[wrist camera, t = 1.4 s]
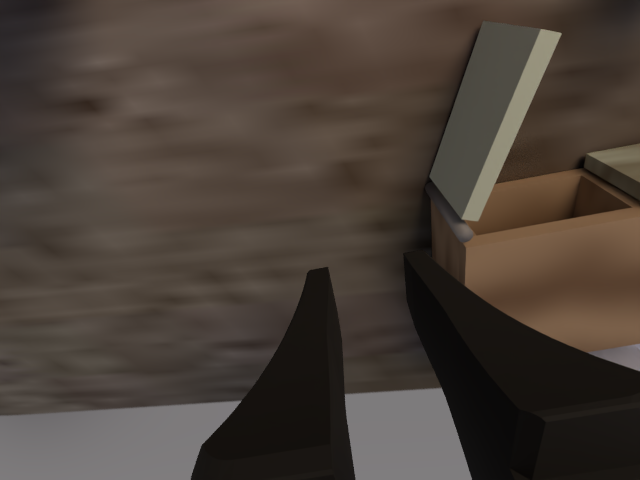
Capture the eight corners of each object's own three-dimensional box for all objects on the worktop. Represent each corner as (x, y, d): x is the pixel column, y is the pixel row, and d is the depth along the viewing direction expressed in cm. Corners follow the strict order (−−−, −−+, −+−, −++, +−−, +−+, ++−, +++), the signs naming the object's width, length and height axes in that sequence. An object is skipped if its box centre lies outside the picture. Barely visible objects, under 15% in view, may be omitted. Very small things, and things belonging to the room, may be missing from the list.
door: (497, 23, 18) (565, 33, 13) (435, 194, 22) (470, 243, 18) (481, 20, 18) (544, 29, 13) (422, 192, 22) (454, 241, 18)
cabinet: (651, 271, 27) (725, 329, 22) (433, 309, 27) (461, 373, 23) (703, 129, 21) (815, 166, 17) (430, 180, 22) (466, 229, 17)
